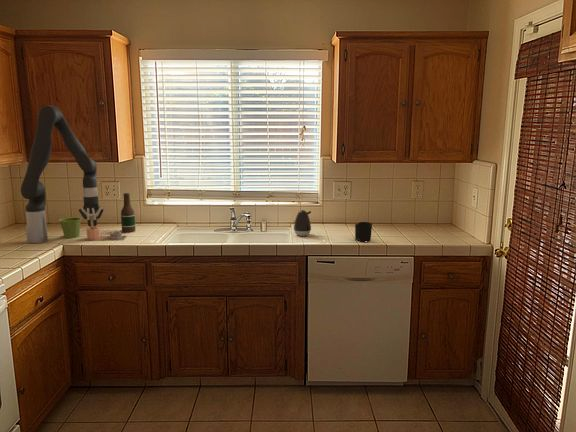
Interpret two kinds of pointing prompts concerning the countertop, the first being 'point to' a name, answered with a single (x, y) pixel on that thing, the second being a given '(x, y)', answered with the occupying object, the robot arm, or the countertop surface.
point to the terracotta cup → (93, 233)
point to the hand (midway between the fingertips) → (92, 226)
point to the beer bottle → (127, 216)
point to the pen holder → (363, 231)
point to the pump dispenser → (302, 223)
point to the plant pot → (71, 226)
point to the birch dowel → (92, 222)
